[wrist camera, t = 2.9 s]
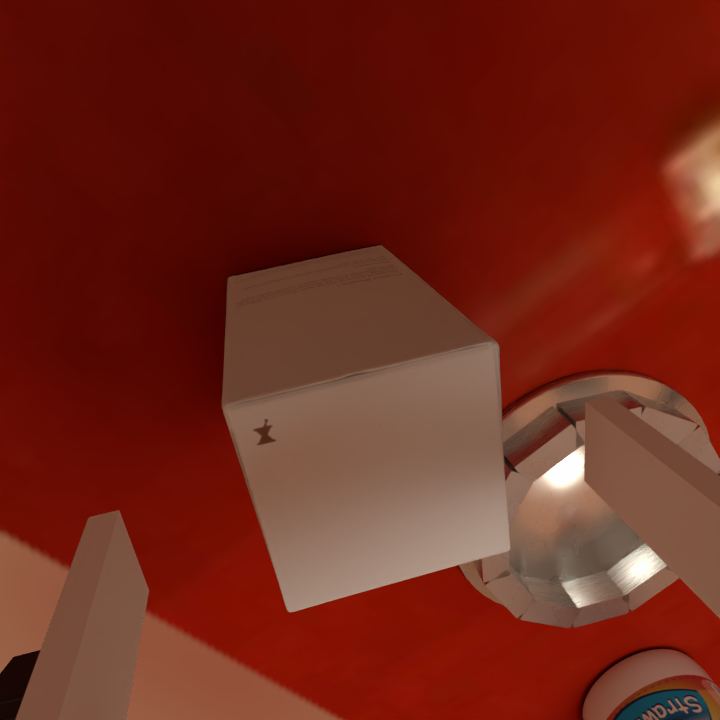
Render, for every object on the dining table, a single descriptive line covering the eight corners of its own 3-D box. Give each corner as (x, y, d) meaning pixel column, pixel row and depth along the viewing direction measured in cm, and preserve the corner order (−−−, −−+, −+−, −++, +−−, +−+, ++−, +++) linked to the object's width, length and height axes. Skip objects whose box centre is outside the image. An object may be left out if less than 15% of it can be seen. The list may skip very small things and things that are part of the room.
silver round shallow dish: (434, 404, 30) (452, 431, 28) (716, 343, 32) (757, 363, 29) (456, 629, 37) (472, 667, 34) (689, 567, 38) (721, 599, 36)
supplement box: (262, 419, 29) (278, 622, 17) (224, 273, 26) (213, 401, 14) (407, 386, 29) (515, 559, 18) (388, 240, 26) (503, 337, 15)
